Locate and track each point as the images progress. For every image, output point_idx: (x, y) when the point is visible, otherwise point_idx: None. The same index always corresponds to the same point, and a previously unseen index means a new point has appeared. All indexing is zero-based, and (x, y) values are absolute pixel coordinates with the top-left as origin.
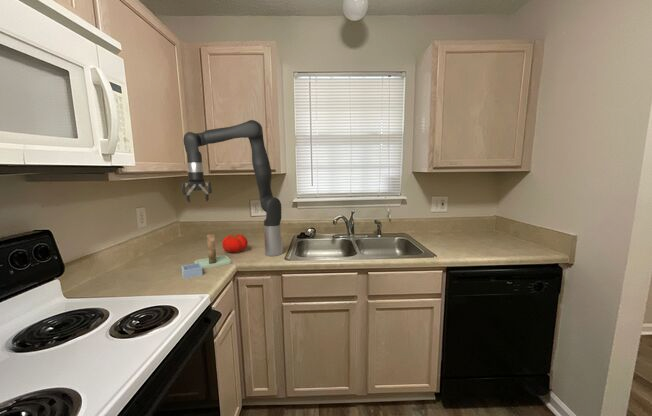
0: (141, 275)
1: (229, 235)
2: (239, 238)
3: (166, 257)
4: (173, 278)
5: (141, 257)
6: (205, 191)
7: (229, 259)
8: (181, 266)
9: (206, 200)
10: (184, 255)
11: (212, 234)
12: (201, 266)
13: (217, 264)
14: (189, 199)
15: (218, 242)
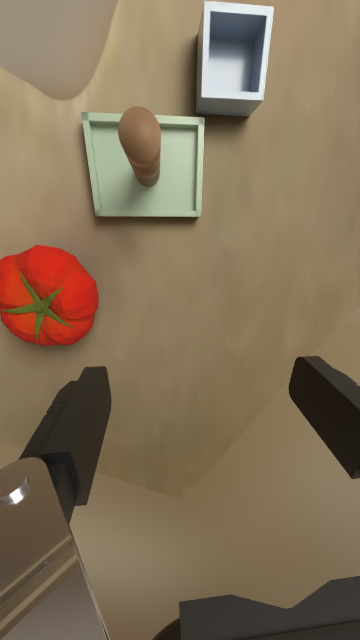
0: (332, 203)
1: (56, 330)
2: (16, 279)
3: (249, 335)
4: (276, 98)
5: None
6: (30, 547)
7: (87, 137)
8: (262, 99)
9: (97, 369)
10: (208, 328)
11: (129, 129)
12: (204, 19)
13: None
14: (329, 375)
15: None
